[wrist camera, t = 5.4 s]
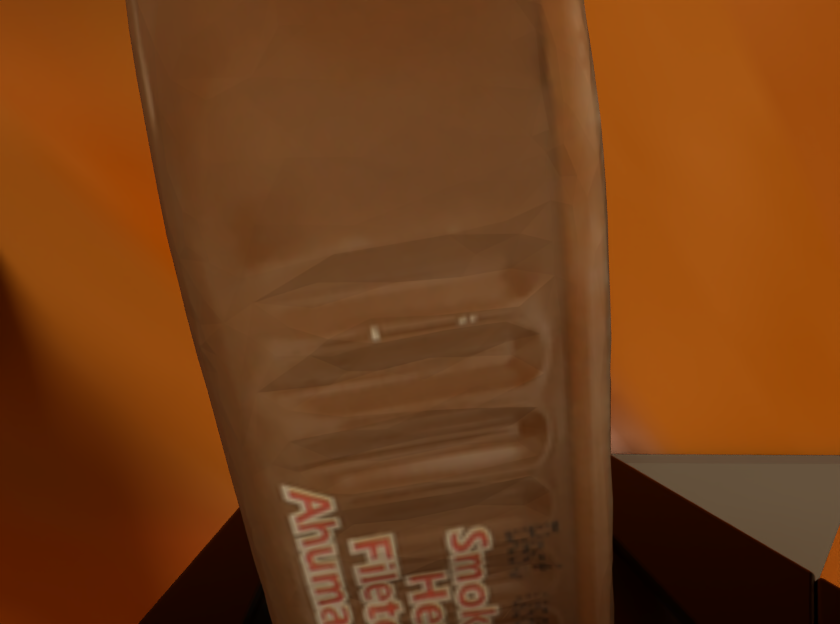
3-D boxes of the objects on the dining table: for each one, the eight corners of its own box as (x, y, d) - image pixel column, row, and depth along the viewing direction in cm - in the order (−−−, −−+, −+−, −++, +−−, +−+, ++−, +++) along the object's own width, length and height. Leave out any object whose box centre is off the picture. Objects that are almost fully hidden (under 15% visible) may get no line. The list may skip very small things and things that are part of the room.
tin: (489, 593, 16) (675, 1108, 8) (354, 626, 16) (420, 1194, 8) (400, -180, 10) (754, -825, 2) (181, -158, 10) (-189, -828, 2)
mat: (267, 757, 27) (266, 772, 26) (263, 452, 22) (261, 463, 21) (749, 734, 29) (757, 748, 29) (852, 455, 24) (864, 465, 24)
